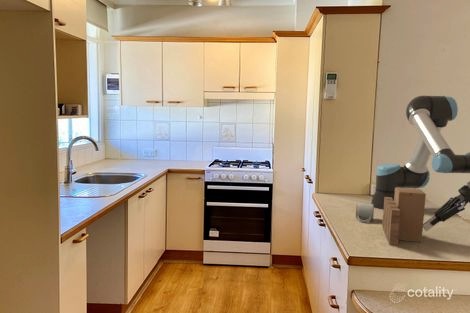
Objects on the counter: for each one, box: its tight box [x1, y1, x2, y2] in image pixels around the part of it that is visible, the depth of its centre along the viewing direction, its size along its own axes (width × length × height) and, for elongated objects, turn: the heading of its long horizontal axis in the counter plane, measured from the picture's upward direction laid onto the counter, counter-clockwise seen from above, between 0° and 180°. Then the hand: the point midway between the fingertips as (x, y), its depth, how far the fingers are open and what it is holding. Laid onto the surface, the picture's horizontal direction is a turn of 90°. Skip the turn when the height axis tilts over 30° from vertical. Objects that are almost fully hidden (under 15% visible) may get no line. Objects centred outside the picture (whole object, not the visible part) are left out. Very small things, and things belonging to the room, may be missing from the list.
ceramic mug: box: [355, 203, 375, 224], centre depth 185 cm, size 11×8×8 cm
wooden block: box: [394, 187, 427, 243], centre depth 160 cm, size 10×10×20 cm
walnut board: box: [381, 197, 400, 247], centre depth 162 cm, size 24×3×14 cm, turn 165°
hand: (423, 228), depth 159 cm, fingers closed
